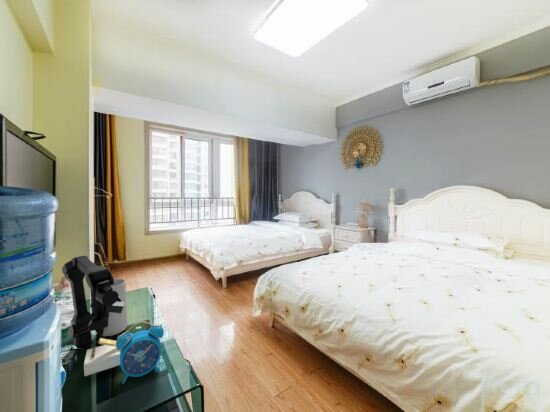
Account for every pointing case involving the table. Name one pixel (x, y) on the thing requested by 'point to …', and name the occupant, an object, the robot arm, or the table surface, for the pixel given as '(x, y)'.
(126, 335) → the alarm clock
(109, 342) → the brass clasp lever
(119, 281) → the cylinder vase
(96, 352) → the box
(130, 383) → the table surface
